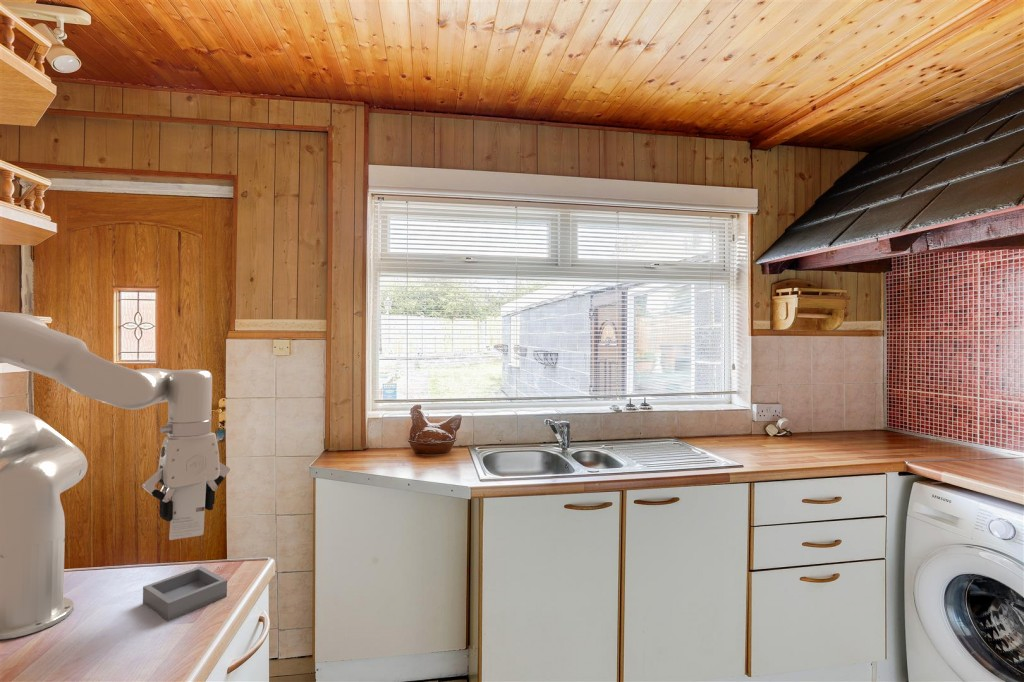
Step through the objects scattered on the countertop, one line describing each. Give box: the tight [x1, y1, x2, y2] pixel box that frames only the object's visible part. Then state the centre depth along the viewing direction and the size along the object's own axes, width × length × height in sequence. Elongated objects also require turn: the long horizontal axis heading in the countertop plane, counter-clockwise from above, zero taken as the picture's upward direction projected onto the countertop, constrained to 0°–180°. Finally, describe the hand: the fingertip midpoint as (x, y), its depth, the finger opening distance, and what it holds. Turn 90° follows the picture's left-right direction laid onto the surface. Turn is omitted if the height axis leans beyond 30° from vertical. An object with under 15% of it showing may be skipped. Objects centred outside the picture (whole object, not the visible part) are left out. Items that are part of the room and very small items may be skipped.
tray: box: [142, 565, 228, 622], centre depth 100 cm, size 11×11×4 cm
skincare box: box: [168, 477, 206, 541], centre depth 100 cm, size 6×4×12 cm
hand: (187, 513), depth 100 cm, fingers closed on skincare box, 7 cm apart
